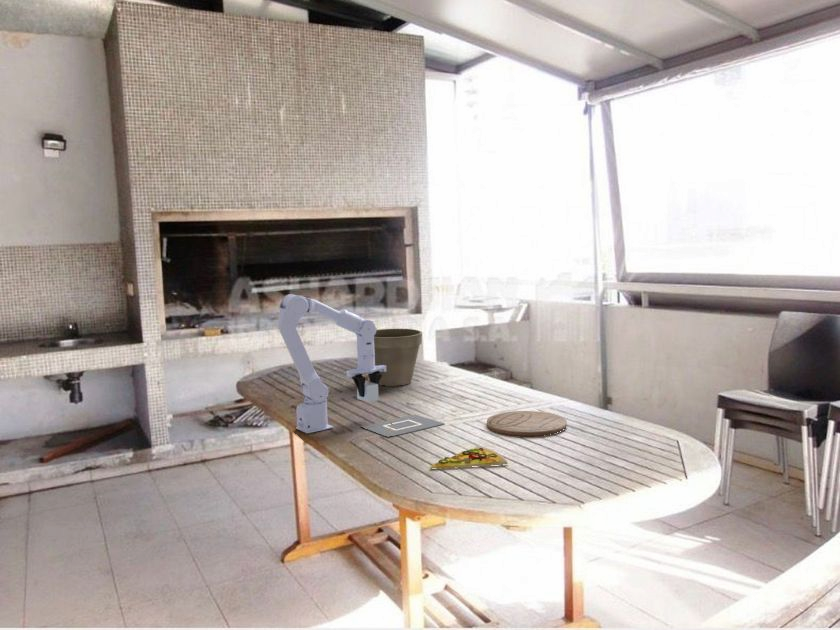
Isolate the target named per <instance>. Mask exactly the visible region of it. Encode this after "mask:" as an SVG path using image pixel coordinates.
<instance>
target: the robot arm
mask: <svg viewBox="0 0 840 630" xmlns="http://www.w3.org/2000/svg"><path fill="white" fill-rule="evenodd" d="M278 309H279V312H278V321H277V327H278V330H279V333H280V335H281V337H282V339H283V341H284V344H285V346H286V348H287V350H288V352H289V356H290V357H291V359H292V362H293V364H294V365H295V368H296V370H297V372H298V375H299V382H300V384H301V385H300V386H301V392H302V394H303V396H304V398H303V399H304V400H303V402H302V403H300V404H297V406H296V414H295V415H296V430H299V431H301V432H303V433H305V434H311V433H315V432H320V431H325V430H330V429H333V428H334V426H333V425H331V424H328V423H329V421H328V420H329V419H328V401H327V400H328V399H327V398H328V396H329V393H330V391H329V387H328V386H327V385H326V384H325V383H324V382H323V381H322V379H321V377H320V376H319V374H318V373H317V372H316V370H315V368H314V366H313V364H312V361H311V359H310V356H309V354H308V352H307V349H306V348H305V345H304V343H303V341H302V339H301V336H300V334H299V332H298V330H297V326H298V324H299V321H300V319H302V318H303V317H304V316H305V314H306V313H309V314H310V313H316V314H319V315H322V316H324V317H326V318H328V319H329V318H330V319H331V320H333V321H335V325H336V326H338V327H340V328H341V329H344V330H347V331H349V332H352V333H353V334H355V335H356V351H357V353H356V354H357V355H356V356H357V368H353V369H351V370H346V374H345V375H346V377H347V378H351V379H352V381H353V382H354V384H355V386H356V390H357V389H358V392H359V396H361V397H364V395H365V390H364V386H365V379H366V378H365V377H364V376H365V375H366V374H368V375H369V379H370V382H372V383H376V384H379V381H380V379H381V377H382V373H380V372H382V371H383V372H385V371H386V366H385V365H380V366H375V351H374V335H375V333H376V331H377V330H378V329H377V327H376V324H375V323H374V322H373V321H372V320H369V319H365V316H363V315H362V314H361V315H358V314H355V313H353V312H352V310H351V309H348V308H346V309H340V310H337V309H335V308H333V307H331V306H329V305H327V304H324V303H322V302H321V301H319V300H316V299H314V298H309V297H305V296H303V295H297V294H294V293H289V294H286V295H285V296H283V298H282V299H281V301H280V302H279V305H278Z"/></svg>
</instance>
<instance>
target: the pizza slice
mask: <svg viewBox="0 0 840 630" xmlns="http://www.w3.org/2000/svg"><path fill="white" fill-rule="evenodd" d="M503 464H508V461H507V459H506V458H505V457H504V456H503V455H502V454H500V453H499V452H498V451H495V450H493V449H490V448H487V447H483V446H476V447H474V448H470V449H467V450H463V451H461V452H459V453H457V454H455V455H452V456H451V457H449V456H447V457H446V456H445V457H444V458H442V459H441V458H440V459H439V460H438V461H437V462H435V463H434V464H433V465H431V466H430V467H429V469H430V468H431V469H432V468H455V467H472V466H491V465H503ZM508 465H509V464H508Z"/></svg>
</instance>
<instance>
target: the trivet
mask: <svg viewBox="0 0 840 630" xmlns="http://www.w3.org/2000/svg"><path fill="white" fill-rule="evenodd" d="M566 426H567V427H568V423H567V419H566V418H564V417H563V416H561V415H559V414H555V413H550V412H545V411H544V412H543V411H534V410H519V411H518V410H517V411H516V410H514V411H513V410H512V411H507V412H500V413H496V414H494V415H491V416H489V417H488V418H487V419H486V427H487V429H488V430H489V431H491V432H493V433H494V434H499V435H503V436H510V437H515V436H520V437H519V438H536V437H535V436H542V437H545V436H544V435H549V436H551V435H550V434H554V433H557V432H560V431H562V430H563V429H565V428H566ZM566 429H567V428H566ZM566 429H565V430H566ZM562 432H563V431H562ZM554 435H555V434H554Z"/></svg>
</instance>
